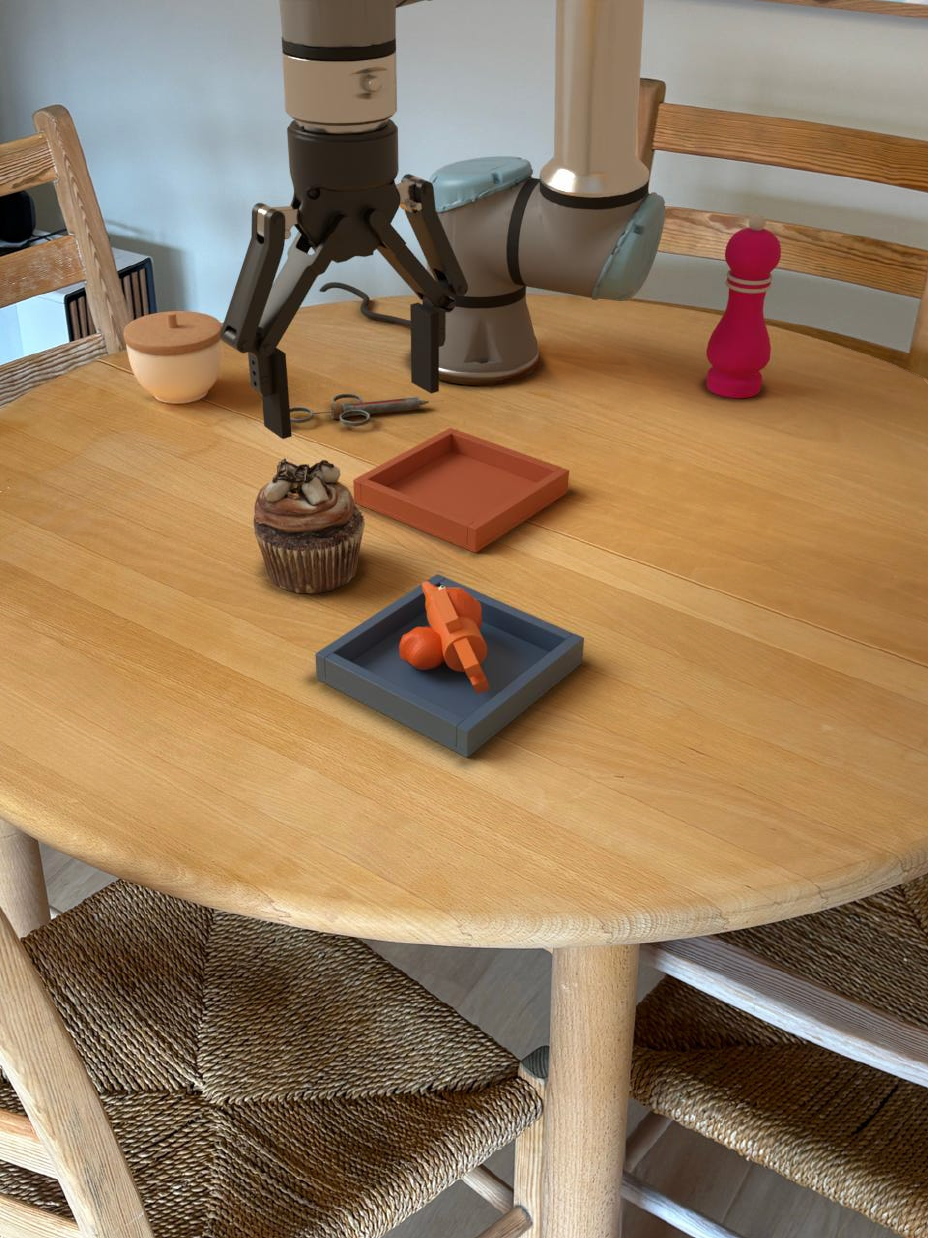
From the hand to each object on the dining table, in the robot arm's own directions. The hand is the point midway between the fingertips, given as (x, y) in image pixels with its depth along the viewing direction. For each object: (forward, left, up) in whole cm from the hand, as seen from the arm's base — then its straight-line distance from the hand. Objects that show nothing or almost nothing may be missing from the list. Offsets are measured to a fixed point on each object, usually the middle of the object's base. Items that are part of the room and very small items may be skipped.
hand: (354, 408), depth 96 cm
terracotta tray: (-5, +20, -18) cm, 28 cm away
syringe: (-25, +28, -18) cm, 42 cm away
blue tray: (+12, -3, -18) cm, 22 cm away
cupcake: (-7, +1, -18) cm, 20 cm away
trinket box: (-45, +19, -18) cm, 52 cm away
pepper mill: (+3, +61, -18) cm, 64 cm away
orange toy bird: (+11, -3, -18) cm, 21 cm away
